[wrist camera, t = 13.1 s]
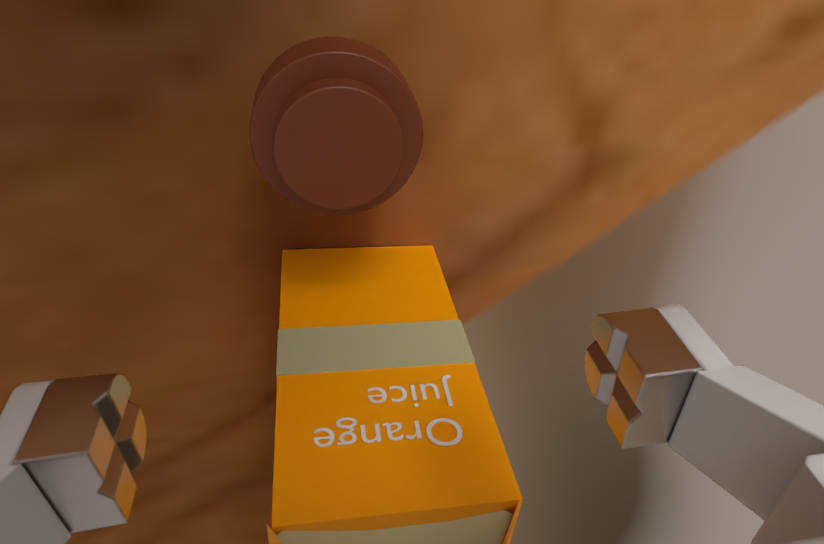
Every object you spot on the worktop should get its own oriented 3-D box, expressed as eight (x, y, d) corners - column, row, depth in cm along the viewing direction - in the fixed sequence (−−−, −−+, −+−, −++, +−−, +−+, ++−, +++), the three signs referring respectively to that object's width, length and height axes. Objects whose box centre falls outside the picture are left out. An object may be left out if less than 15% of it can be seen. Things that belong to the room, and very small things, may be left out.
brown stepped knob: (244, 21, 22) (230, 66, 17) (400, 13, 23) (428, 53, 18) (269, 166, 26) (264, 237, 21) (404, 155, 26) (428, 221, 21)
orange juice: (435, 244, 29) (604, 709, 13) (422, 369, 34) (532, 818, 18) (277, 248, 28) (251, 772, 12) (287, 378, 33) (279, 871, 17)
